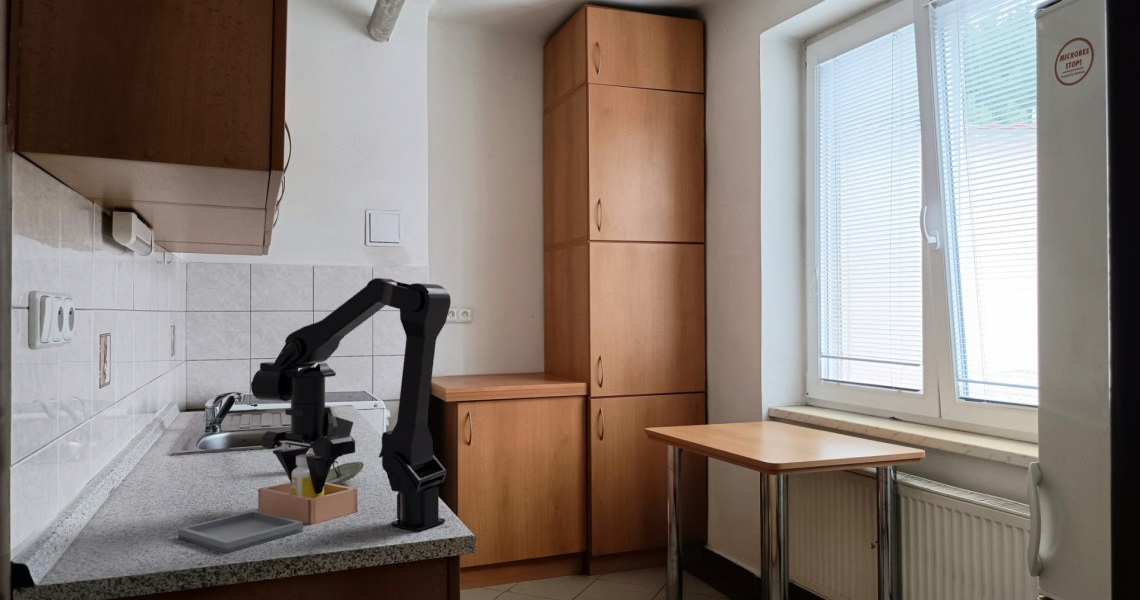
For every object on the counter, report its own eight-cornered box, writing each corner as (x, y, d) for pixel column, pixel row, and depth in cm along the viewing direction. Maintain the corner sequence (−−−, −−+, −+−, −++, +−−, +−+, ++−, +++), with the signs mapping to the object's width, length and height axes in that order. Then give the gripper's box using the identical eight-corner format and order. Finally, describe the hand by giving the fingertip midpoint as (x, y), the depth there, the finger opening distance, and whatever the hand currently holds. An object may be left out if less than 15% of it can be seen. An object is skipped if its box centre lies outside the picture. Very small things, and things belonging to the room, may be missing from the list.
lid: (371, 486, 151) (371, 461, 151) (321, 493, 145) (321, 467, 145) (353, 477, 160) (353, 453, 160) (306, 483, 154) (306, 458, 154)
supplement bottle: (330, 508, 134) (330, 453, 134) (312, 516, 128) (312, 459, 129) (303, 506, 135) (304, 452, 135) (284, 514, 130) (284, 457, 130)
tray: (302, 531, 120) (302, 522, 120) (226, 553, 109) (226, 543, 109) (254, 519, 127) (254, 510, 127) (178, 538, 116) (178, 528, 116)
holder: (357, 511, 132) (357, 488, 132) (311, 524, 124) (311, 500, 124) (304, 500, 140) (304, 478, 140) (258, 511, 132) (258, 488, 132)
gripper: (379, 401, 133) (379, 489, 133) (312, 394, 144) (312, 476, 144) (328, 408, 124) (327, 502, 124) (260, 400, 135) (260, 488, 134)
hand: (307, 491), depth 132 cm, fingers closed on supplement bottle, 5 cm apart
